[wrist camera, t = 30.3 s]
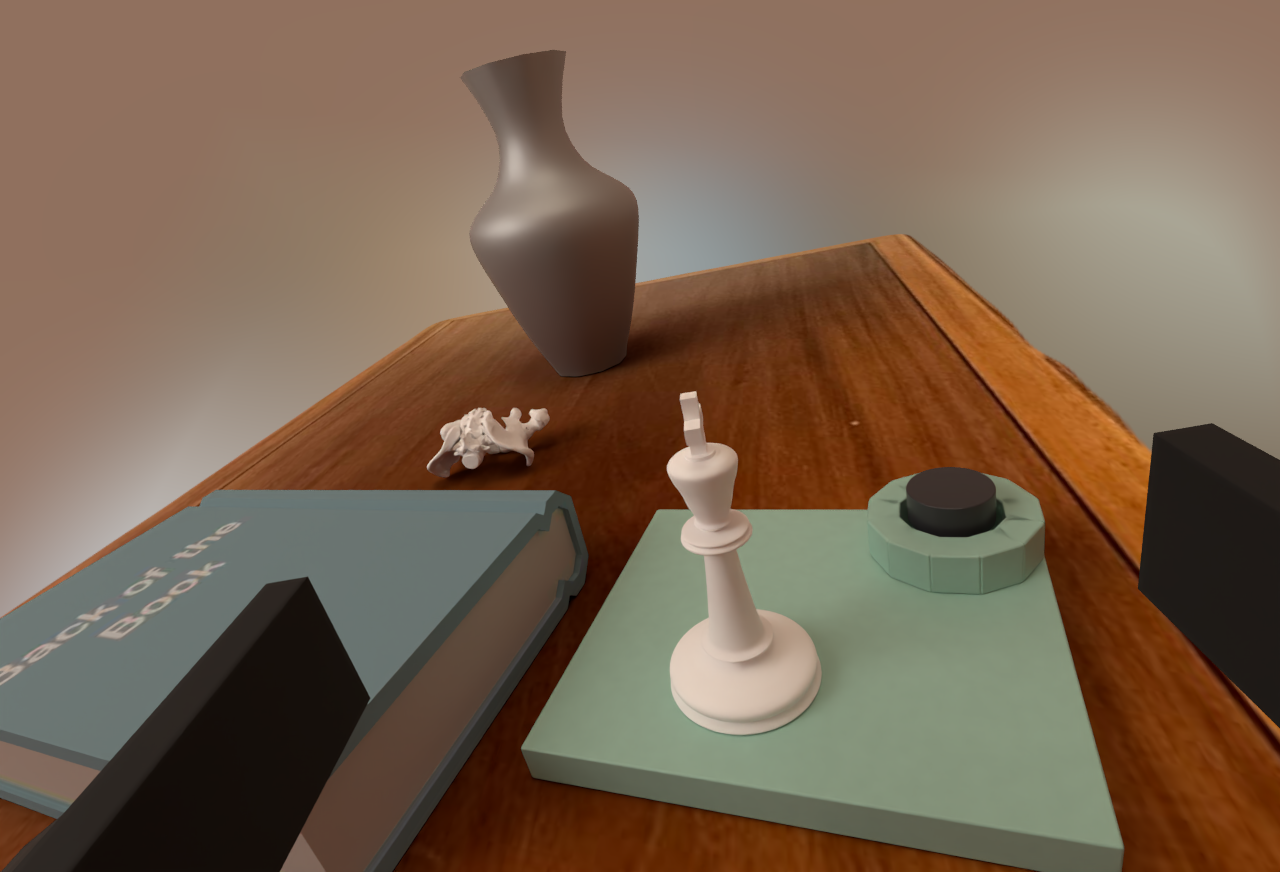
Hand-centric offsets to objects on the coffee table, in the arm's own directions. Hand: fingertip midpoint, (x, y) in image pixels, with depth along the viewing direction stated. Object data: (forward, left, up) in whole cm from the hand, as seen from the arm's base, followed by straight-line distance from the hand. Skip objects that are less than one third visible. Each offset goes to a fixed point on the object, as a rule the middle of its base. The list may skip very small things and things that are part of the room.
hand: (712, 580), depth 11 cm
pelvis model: (+24, -26, -12) cm, 37 cm away
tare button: (-4, -15, -9) cm, 18 cm away
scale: (+1, -11, -11) cm, 16 cm away
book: (+23, -7, -12) cm, 27 cm away
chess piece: (+3, -8, -10) cm, 13 cm away
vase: (+25, -45, -12) cm, 53 cm away
